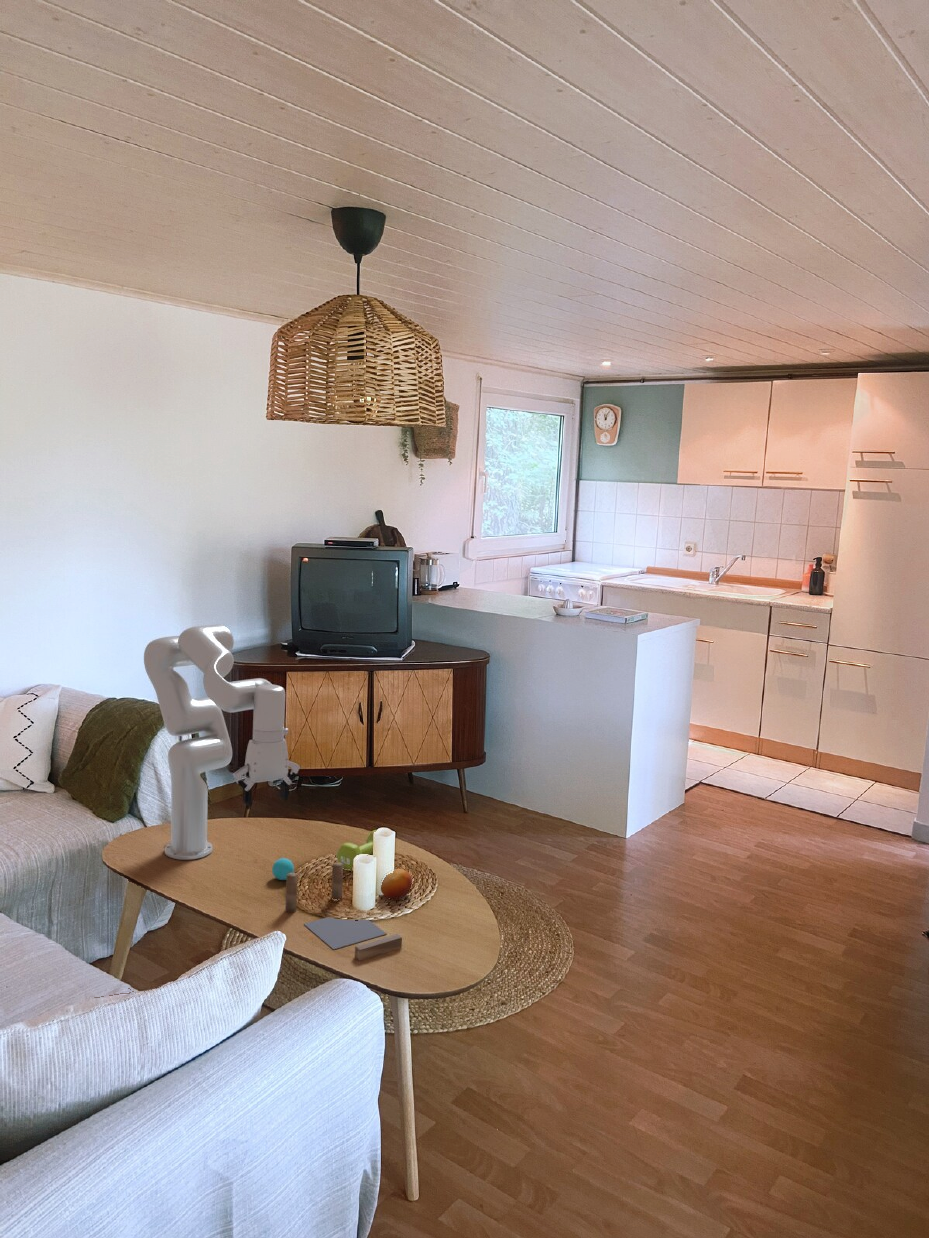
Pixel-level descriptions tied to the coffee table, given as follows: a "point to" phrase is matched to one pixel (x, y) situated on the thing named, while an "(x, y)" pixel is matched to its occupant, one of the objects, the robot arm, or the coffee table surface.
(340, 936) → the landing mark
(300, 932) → the coffee table surface
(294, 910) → the post
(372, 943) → the strip
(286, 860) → the ball
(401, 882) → the fruit
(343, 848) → the dumbbell
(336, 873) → the post
